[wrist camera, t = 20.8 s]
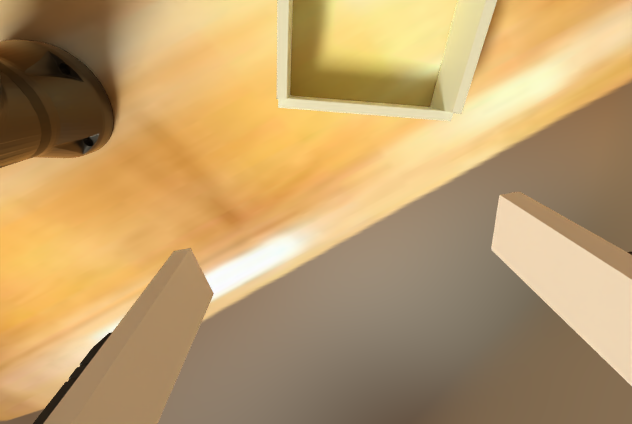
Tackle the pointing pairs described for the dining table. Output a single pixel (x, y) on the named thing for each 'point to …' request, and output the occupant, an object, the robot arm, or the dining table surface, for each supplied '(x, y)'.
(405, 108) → the drawer
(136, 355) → the robot arm
